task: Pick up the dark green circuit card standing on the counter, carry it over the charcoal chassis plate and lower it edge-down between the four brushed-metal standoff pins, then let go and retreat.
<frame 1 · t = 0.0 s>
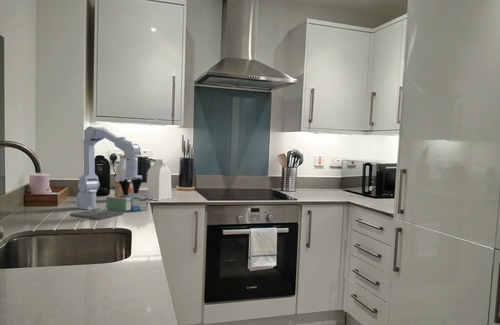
hand: (130, 194, 186), 10 cm above the countertop, fingers open, 7 cm apart
circuit card: (115, 210, 194), on the countertop
ink box: (139, 210, 198), on the countertop
milk: (158, 199, 240), on the countertop
fruit juice: (122, 201, 228), on the countertop
chassis plate: (97, 215, 181), on the countertop
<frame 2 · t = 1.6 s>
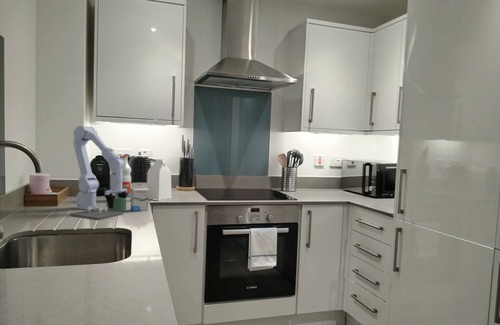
hand: (116, 207, 194), 2 cm above the countertop, fingers open, 7 cm apart
nothing on the countertop moved.
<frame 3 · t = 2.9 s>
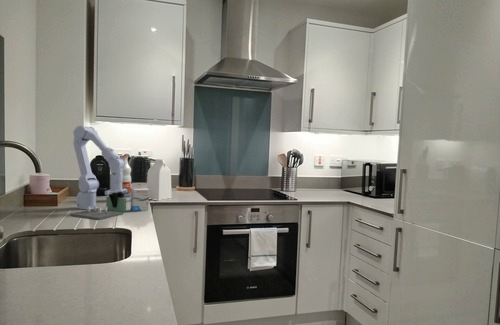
hand: (116, 207, 194), 2 cm above the countertop, fingers closed on circuit card, 1 cm apart
circuit card: (115, 210, 194), on the countertop, touching gripper
everything else where it was.
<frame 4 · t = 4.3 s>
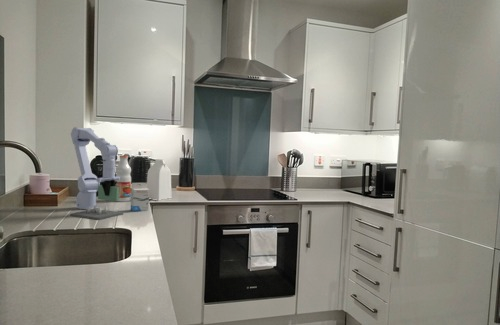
hand: (108, 195, 188), 9 cm above the countertop, fingers closed on circuit card
circuit card: (108, 199, 188), point 6 cm above the countertop, touching gripper
everything else where it was.
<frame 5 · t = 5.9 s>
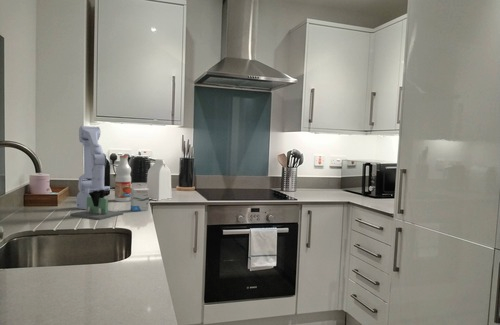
hand: (97, 206, 181), 4 cm above the countertop, fingers closed on circuit card, 1 cm apart
circuit card: (97, 211, 181), point 2 cm above the countertop, touching gripper
everything else where it was.
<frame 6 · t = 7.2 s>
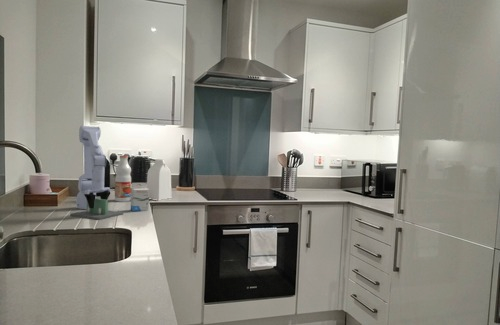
hand: (97, 207, 181), 4 cm above the countertop, fingers open, 7 cm apart
circuit card: (97, 213, 181), point 1 cm above the countertop, touching chassis plate
everything else where it was.
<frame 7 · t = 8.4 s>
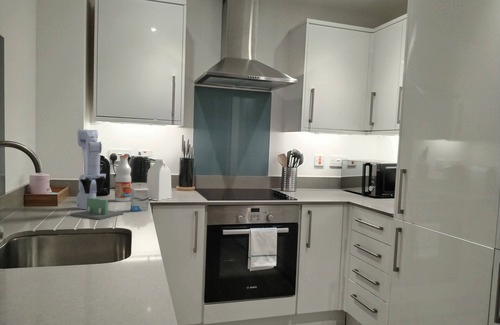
hand: (93, 192, 184), 10 cm above the countertop, fingers open, 7 cm apart
nothing on the countertop moved.
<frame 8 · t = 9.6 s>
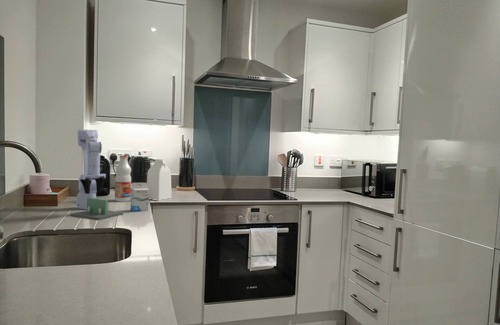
hand: (93, 192, 184), 10 cm above the countertop, fingers open, 7 cm apart
nothing on the countertop moved.
at the end: circuit card 0.2 cm off-centre on the chassis plate, point 1.0 cm above the chassis plate's base; circuit card tilted 0°; the gripper is holding nothing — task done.
